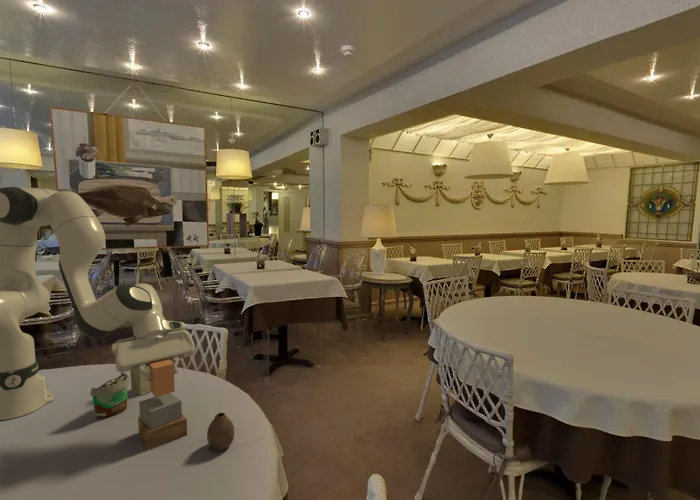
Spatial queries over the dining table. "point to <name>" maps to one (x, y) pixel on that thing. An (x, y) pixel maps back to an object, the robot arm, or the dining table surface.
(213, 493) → the dining table surface
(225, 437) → the vase
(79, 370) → the dining table surface
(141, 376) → the skincare box
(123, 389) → the food container
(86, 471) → the dining table surface
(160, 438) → the tower base block
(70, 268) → the robot arm
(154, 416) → the tower top block
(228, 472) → the dining table surface
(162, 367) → the terracotta block
